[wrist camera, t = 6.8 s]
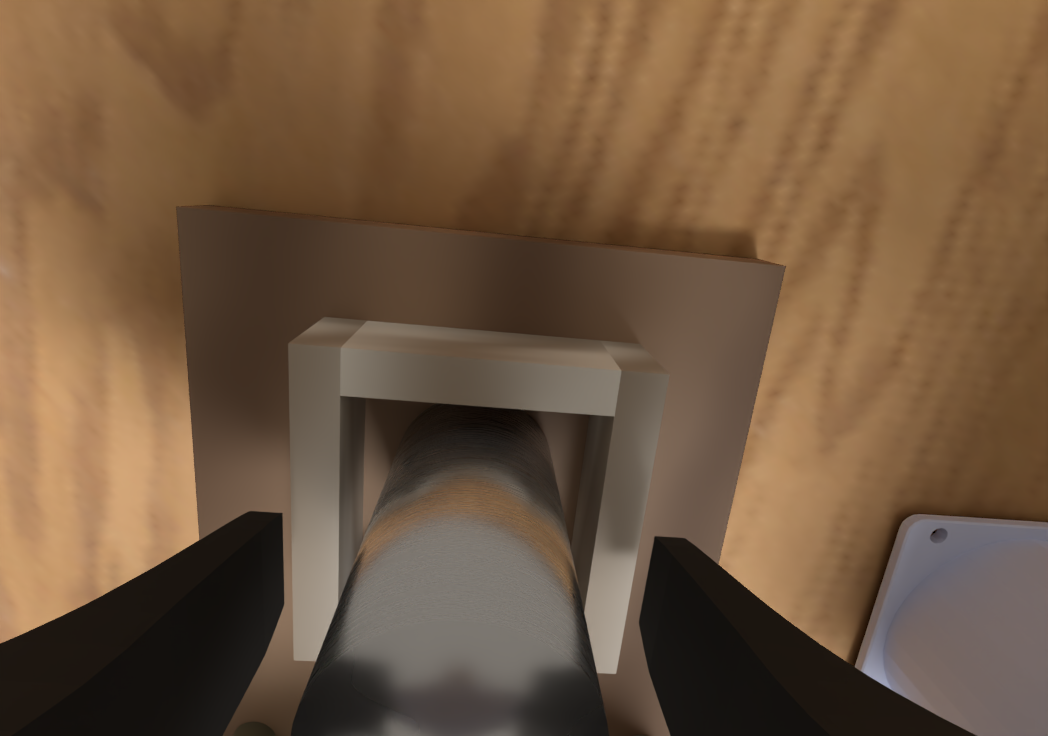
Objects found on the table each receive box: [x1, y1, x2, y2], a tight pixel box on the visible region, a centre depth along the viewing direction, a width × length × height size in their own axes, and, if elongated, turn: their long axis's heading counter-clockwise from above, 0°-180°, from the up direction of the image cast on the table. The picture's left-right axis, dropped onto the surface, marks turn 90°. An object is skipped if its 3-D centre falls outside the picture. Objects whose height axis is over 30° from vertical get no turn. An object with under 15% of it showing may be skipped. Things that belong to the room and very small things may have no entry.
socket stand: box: [177, 205, 786, 736], centre depth 12 cm, size 14×19×10 cm
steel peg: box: [291, 403, 609, 736], centre depth 11 cm, size 4×4×8 cm
